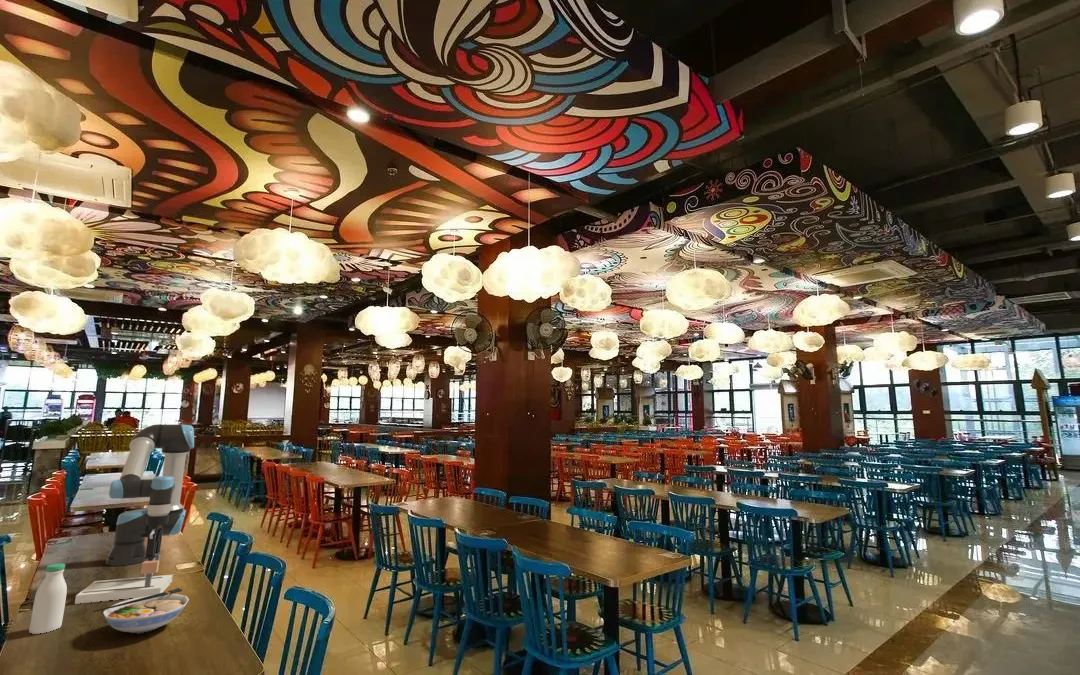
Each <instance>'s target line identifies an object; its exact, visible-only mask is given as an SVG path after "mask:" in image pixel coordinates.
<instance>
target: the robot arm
mask: <svg viewBox="0 0 1080 675" xmlns="http://www.w3.org/2000/svg"><path fill="white" fill-rule="evenodd" d="M128 446H129V453H128V456H127V457H126V461H125V464H124V466H123V469H122V472H121V475H120V478H119V479H116V480H113V481H111V483H110V486H109V493H108V495H109V498H110V499H120V500H123V499H124V500H125V499H138V498H149V499H148V500H149V501H148V506H147V507H146V508H140V509H133V510H129V511H125V512H121V513H120V514H119V515H118V517H117V521H116V524H115V525H116V527H115V533H114V539H113V546H112V548H111V550H110V551H109V553H108V556H107V558H106V561H105V565H107V566H112V567H113V566H114V567H115V566H116V567H118V566H120V567H121V566H129V565H134V564H139V563H143V561H144V559H147V561H155V554H158V553H161V547H162V538H163V537H165V536H167V537H170V536H174V535H175V536H176V535H179V533H180V532H181V530H182V527H183V524H184V520H185V516H186V513H187V510H186V509H183V508H184V505H182V503H181V498H182V497H181V496H182V490H183V482H184V481H183V480H184V473H185V463H186V457H187V455H189V453H190V452H191V449H194V448H195V428H194V426H192V425H191V424H161V423H159V424H152V425H149V426H147V427H144V428H143V429H141V430H140V431H137V433H135V435H134V436H132V438H131V440H130V443H129V445H128ZM154 449H161V454H163V455H164V462H163V469H162V475H160V476H154V477H153V478H152V479H151V478H149V479H143V476H144V473H145V470H146V466H147V463H148V460H149V457H150V454H151V452H153V450H154ZM146 538H147V542H146V545H145V540H146ZM145 555H146V556H145ZM144 556H145V558H144ZM143 575H144V576H143V577H146V574H143ZM152 575H153V576H154V573H152Z"/></svg>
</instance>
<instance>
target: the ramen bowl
mask: <svg viewBox="0 0 1080 675" xmlns="http://www.w3.org/2000/svg"><path fill="white" fill-rule="evenodd" d="M182 591H183V589H182V588H175V589H170V590H167V591H164V592H163V593H159V594H155V595H149V596H144V597H138V598H133V599H125V600H123V601H120V602H117V603H115V604H113V605H111V606H107V607H104V608H100V609H97V610H94V611H92V612H93V613H96V612H97V613H98V612H100V611H103V612H102V613H103V616H104V617H105V620H106V621H107V623H108V624H109V626H111V628H113V629H114V630H116V631H119V632H123V633H131V634H134V633H137V634H145V633H144V632H146V633H149V631H150V632H153V631H156V630H157V629H158V628H161V627H162V626H165V625H166V624H168V623H170V622H171V621H173V620H175V619H176V618H177V617H178V616H179V615H180V614H181V612H182V611H183V610H184V609H185V607H186V605H187V604H188V602H189V601H190V599H189V597H188V596H187V595H182V594H178V593H180V592H182ZM152 630H153V631H152Z"/></svg>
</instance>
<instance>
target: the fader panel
mask: <svg viewBox="0 0 1080 675" xmlns="http://www.w3.org/2000/svg"><path fill="white" fill-rule="evenodd" d="M145 580H146V576H141V577H128V578H127V577H126V578H117V579H116V578H115V579H105V580H94V581H93V582H91V583H90V585H88V586H86V587H85V588H84V589H83V590H81V591H80V592H79V593H77V594H76V595H75V600H74V605H79V604H80V603H81V604H89V603H90V604H91V602H92V603H101V602H100V601H102V602H110V601H109V600H113V601H120V600H119V599H124V600H130V599H129V598H138V597H144V596H149V595H155V594H159V593H163V592H166V589H167V588H168V587H169V586H170V585H171V584H170V583H172V582H173V574H166V575H165V574H164V575H153V577H152V579H151V585H150V586H149V587H145Z"/></svg>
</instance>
